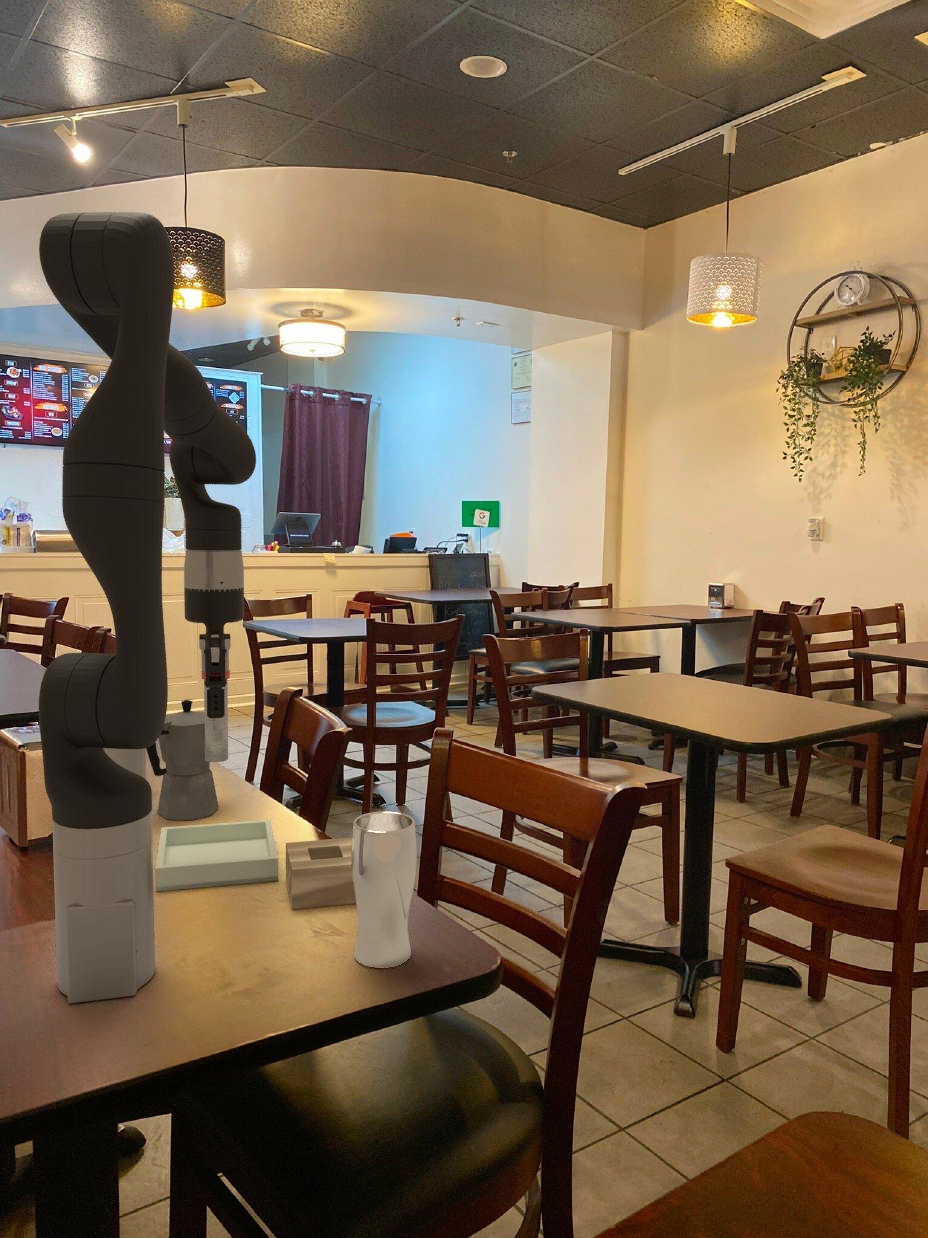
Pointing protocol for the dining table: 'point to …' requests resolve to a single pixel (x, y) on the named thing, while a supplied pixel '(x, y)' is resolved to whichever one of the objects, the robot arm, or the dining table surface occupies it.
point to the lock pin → (216, 726)
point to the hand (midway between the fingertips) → (215, 713)
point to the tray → (216, 855)
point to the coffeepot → (184, 767)
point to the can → (129, 759)
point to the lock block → (319, 873)
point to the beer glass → (383, 886)
